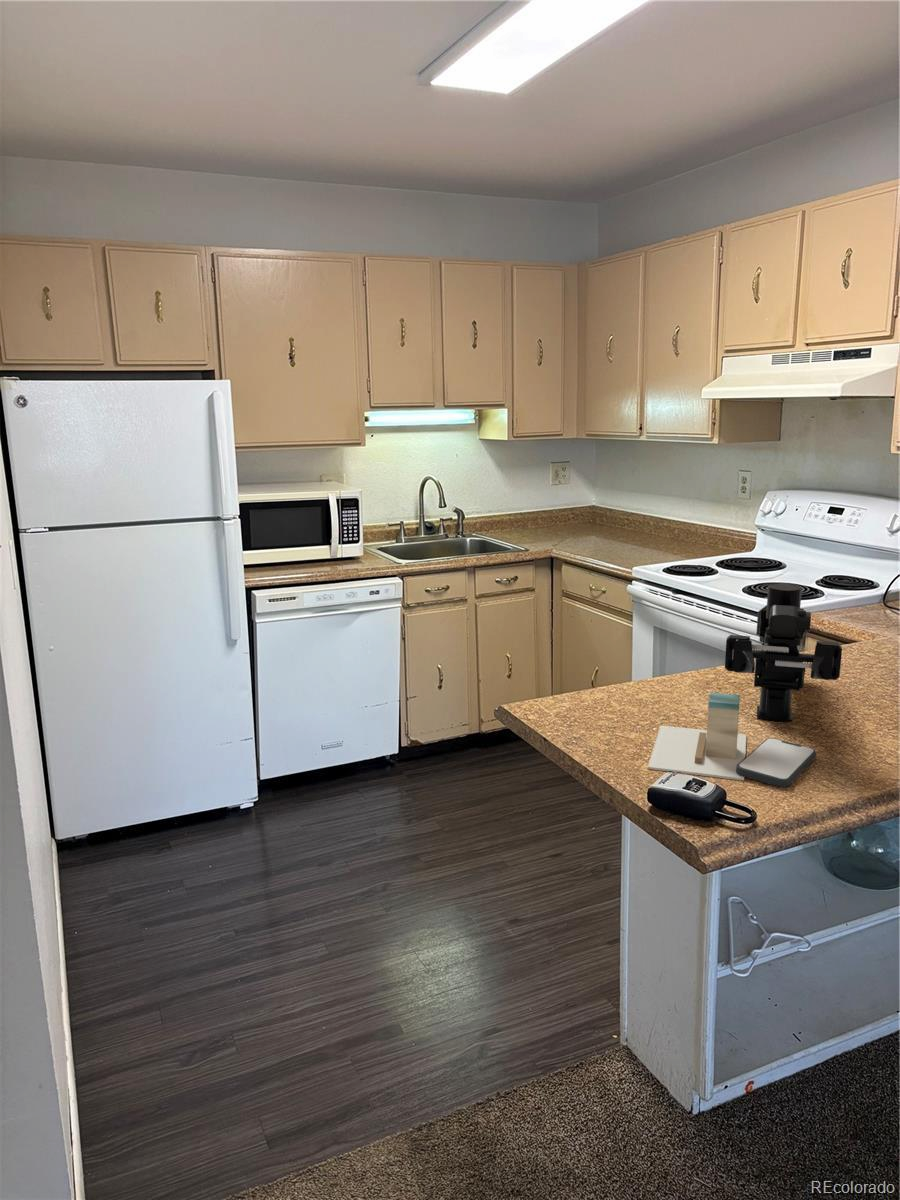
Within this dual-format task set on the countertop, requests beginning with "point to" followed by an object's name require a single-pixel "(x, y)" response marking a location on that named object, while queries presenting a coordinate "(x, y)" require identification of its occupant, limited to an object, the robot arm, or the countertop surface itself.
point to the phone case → (776, 762)
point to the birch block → (722, 725)
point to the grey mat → (693, 754)
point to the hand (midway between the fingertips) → (782, 672)
